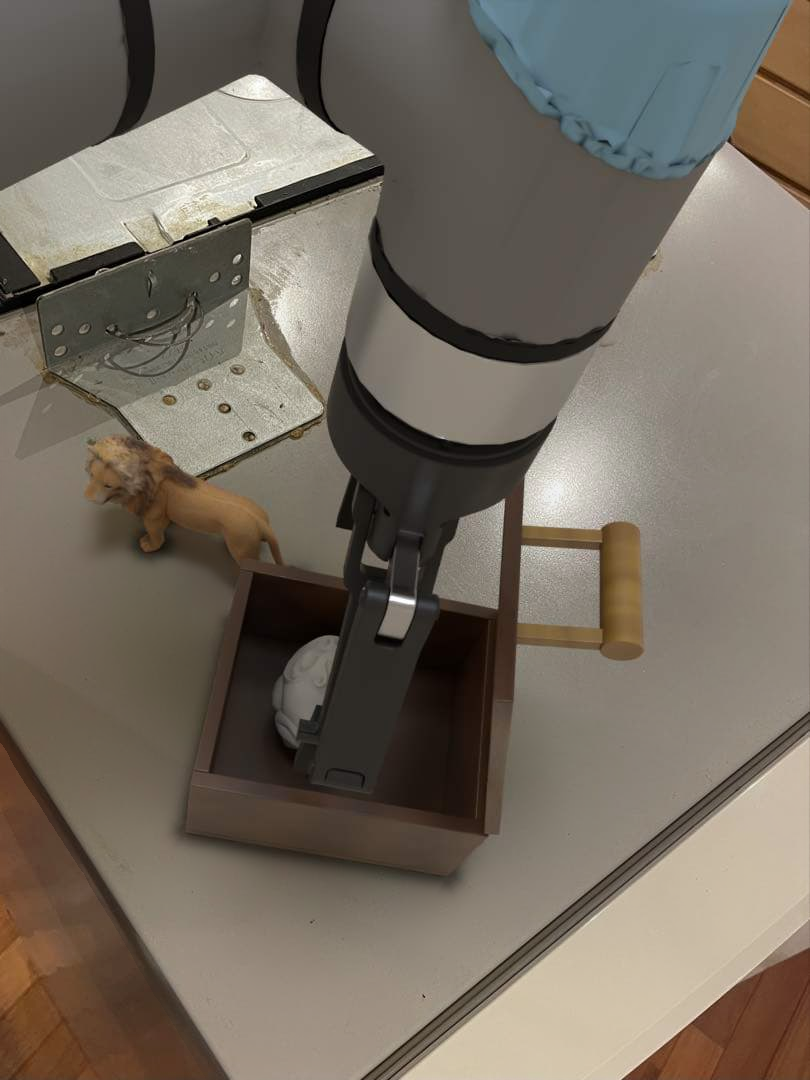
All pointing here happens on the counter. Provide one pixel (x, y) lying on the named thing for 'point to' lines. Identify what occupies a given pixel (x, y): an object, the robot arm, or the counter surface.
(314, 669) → the frog figurine
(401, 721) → the chest
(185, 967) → the counter surface
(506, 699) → the chest lid
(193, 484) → the lion figurine
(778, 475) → the counter surface
